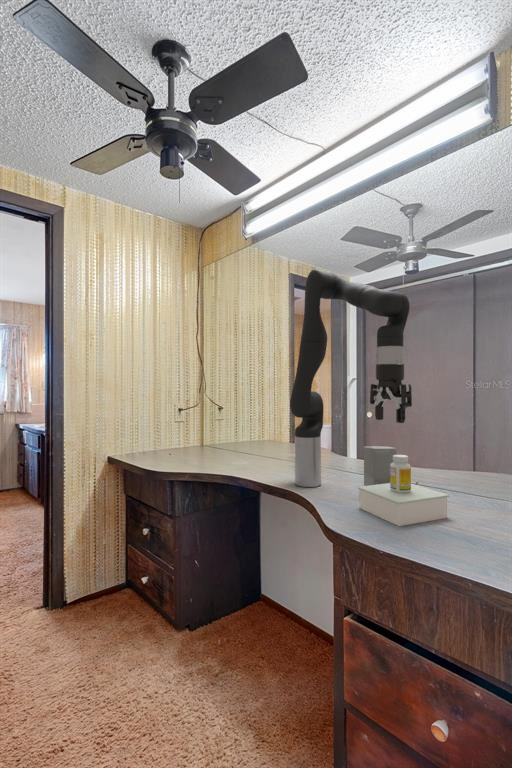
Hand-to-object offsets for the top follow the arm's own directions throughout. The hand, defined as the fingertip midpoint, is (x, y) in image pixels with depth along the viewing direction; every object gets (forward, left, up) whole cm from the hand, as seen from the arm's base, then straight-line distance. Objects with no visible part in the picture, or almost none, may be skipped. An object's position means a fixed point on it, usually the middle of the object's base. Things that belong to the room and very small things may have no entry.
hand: (389, 421), depth 110 cm
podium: (+2, +2, -25) cm, 25 cm away
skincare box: (-13, +7, -25) cm, 29 cm away
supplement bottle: (+2, +2, -19) cm, 19 cm away
